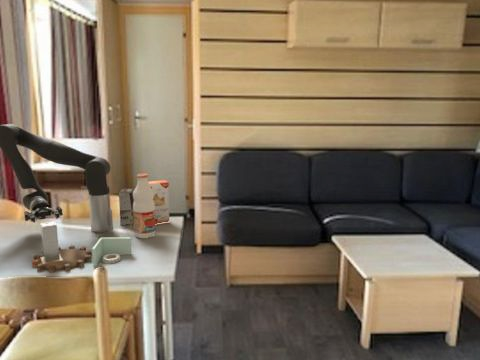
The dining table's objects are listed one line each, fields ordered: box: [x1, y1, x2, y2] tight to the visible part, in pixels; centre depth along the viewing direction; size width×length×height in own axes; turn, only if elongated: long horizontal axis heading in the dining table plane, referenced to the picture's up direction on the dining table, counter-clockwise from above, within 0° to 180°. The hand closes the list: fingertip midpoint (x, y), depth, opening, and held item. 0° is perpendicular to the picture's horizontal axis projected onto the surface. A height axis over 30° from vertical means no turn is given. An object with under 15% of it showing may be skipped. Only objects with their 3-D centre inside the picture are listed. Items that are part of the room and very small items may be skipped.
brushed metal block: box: [39, 220, 60, 262], centre depth 169 cm, size 5×5×14 cm
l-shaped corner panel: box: [91, 236, 132, 267], centre depth 173 cm, size 12×12×8 cm
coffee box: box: [118, 187, 136, 226], centre depth 217 cm, size 9×6×16 cm
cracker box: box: [148, 179, 170, 224], centre depth 214 cm, size 14×6×21 cm, turn 119°
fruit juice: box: [133, 173, 157, 239], centre depth 198 cm, size 9×9×28 cm
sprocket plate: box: [31, 244, 93, 273], centre depth 173 cm, size 22×22×2 cm
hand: (45, 218), depth 177 cm, fingers open, 8 cm apart
